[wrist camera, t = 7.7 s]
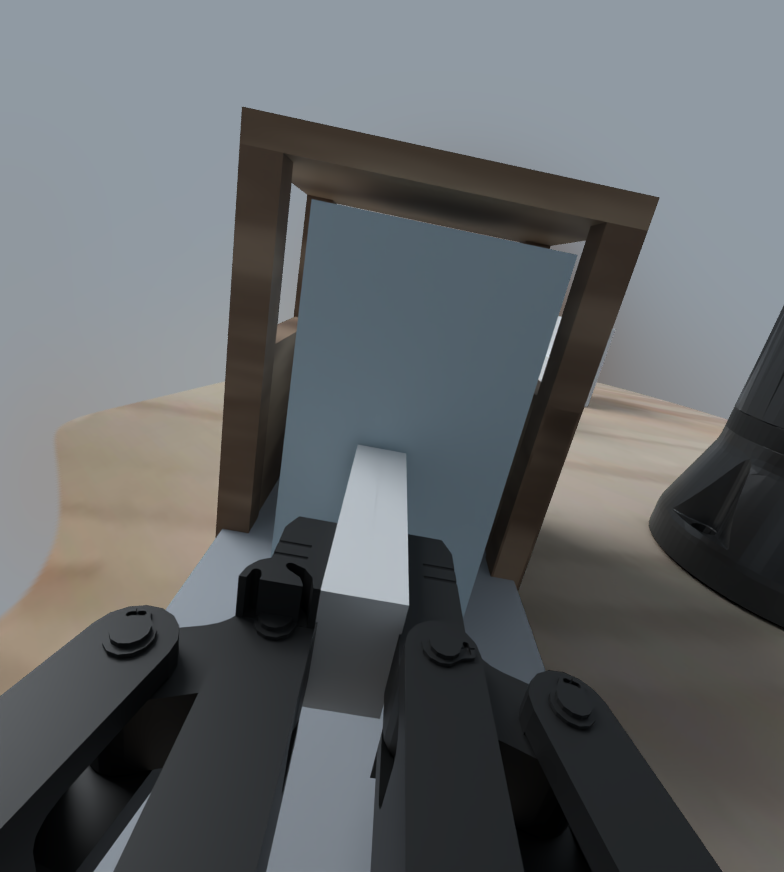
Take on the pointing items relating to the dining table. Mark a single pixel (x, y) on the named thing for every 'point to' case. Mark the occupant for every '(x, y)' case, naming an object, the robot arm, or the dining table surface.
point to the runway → (332, 731)
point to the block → (415, 368)
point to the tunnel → (433, 203)
